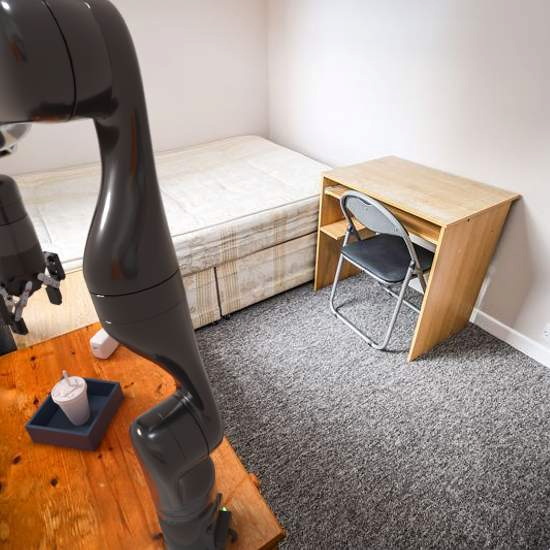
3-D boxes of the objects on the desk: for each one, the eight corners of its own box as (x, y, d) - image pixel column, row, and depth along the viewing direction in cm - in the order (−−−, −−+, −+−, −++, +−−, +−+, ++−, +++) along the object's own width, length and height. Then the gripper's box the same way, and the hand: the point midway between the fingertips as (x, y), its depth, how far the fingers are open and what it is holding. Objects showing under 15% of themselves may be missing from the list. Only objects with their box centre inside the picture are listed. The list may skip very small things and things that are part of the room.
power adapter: (118, 328, 106) (113, 312, 103) (133, 332, 105) (129, 316, 102) (91, 357, 97) (85, 340, 94) (107, 361, 96) (102, 344, 93)
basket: (124, 397, 88) (119, 382, 85) (94, 451, 77) (87, 436, 74) (70, 390, 89) (63, 374, 86) (33, 442, 78) (24, 426, 75)
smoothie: (102, 406, 85) (86, 362, 77) (87, 432, 80) (69, 388, 72) (74, 403, 85) (56, 359, 78) (58, 429, 80) (36, 385, 72)
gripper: (-7, 270, 55) (29, 349, 64) (62, 225, 66) (83, 298, 75) (-51, 260, 56) (-10, 340, 65) (24, 218, 67) (50, 290, 77)
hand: (40, 317), depth 70 cm, fingers open, 8 cm apart
